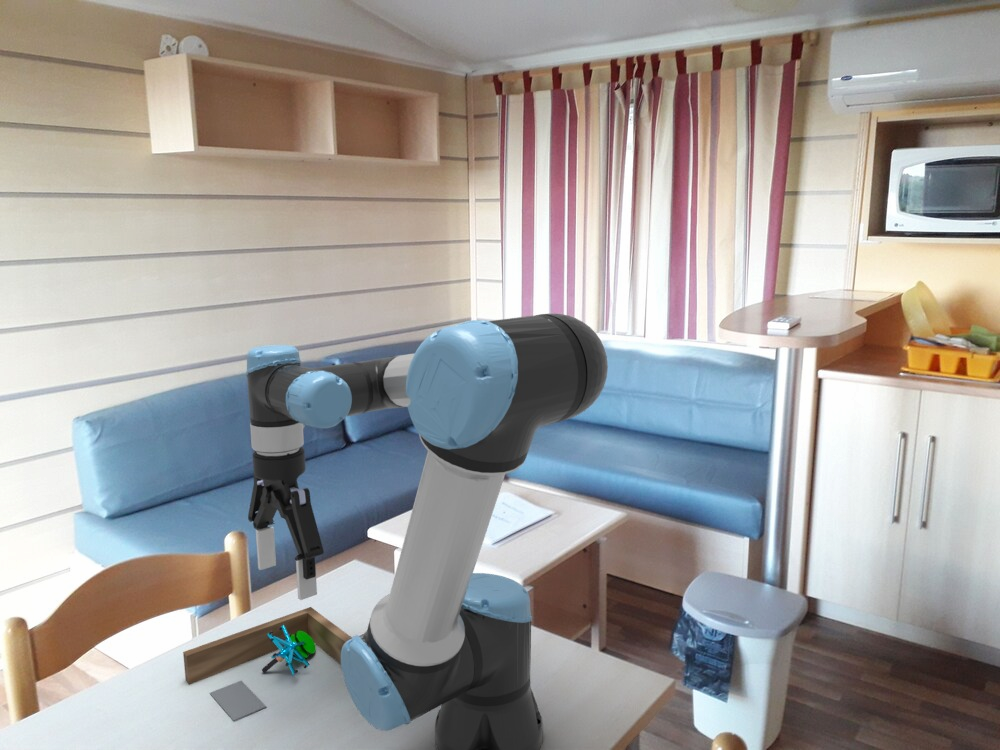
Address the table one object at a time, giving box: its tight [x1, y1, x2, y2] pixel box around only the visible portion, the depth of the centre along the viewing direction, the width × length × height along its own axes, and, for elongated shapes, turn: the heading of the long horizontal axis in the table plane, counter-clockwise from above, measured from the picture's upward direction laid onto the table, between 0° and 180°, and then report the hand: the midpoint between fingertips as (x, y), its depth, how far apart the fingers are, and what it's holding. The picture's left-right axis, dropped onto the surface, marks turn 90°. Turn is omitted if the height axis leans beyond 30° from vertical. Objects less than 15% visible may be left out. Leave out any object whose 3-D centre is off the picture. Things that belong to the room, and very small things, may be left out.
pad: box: [209, 680, 267, 722], centre depth 118 cm, size 9×5×1 cm, turn 41°
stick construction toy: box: [261, 625, 317, 676], centre depth 126 cm, size 12×7×8 cm
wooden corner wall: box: [182, 606, 353, 686], centre depth 124 cm, size 16×22×5 cm
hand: (286, 581), depth 121 cm, fingers open, 13 cm apart
